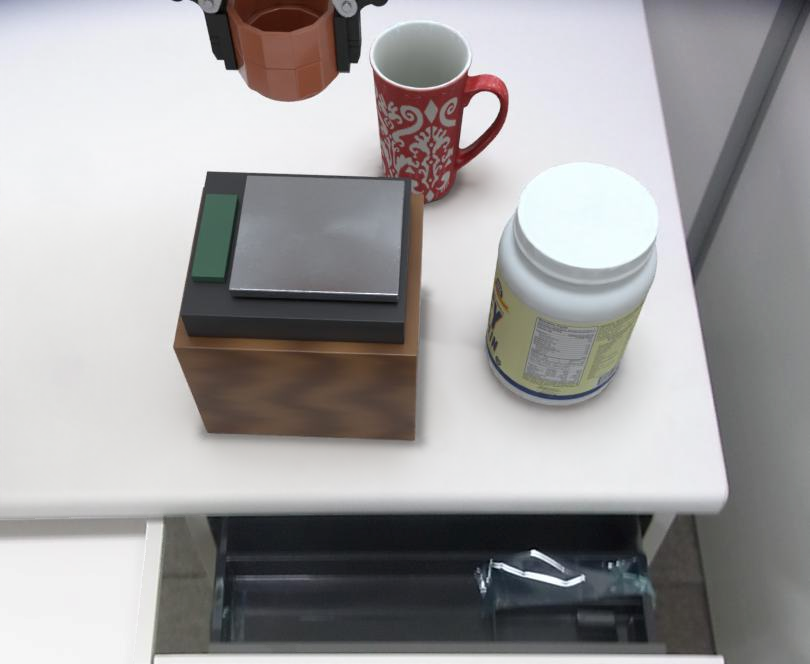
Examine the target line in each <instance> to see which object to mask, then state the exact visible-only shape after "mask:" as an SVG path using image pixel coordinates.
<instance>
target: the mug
mask: <svg viewBox="0 0 810 664" xmlns="http://www.w3.org/2000/svg"><path fill="white" fill-rule="evenodd" d="M368 53H369V55H368V58H369V64H370V66H371V69H372V75H373V86H374V95H375V97H374V98H375V106H376V114H377V115H376V116H377V124H378V136H379V146H380V154H381V167H382V175H383V176H382V177H399V178H411V179H412V187H411V194H424V203H428V202H429V203H430V202H433V201H437V200H439V199H441V198H443V197H444V196H446V195H447V194H448V193H449V192H450V191H451V190H452V188H453V186H454V184H455V182H456V176H457V172H458V171H459V170H460V169H462V168H463V167H464V166H466V165H468V164H469V163H470V162H471V161H472V160H474V159H475V158H476V157H477V156H479V155H480V154H481V153H482V152H484V151H485V149H486V148H487V147H489V145H490V144H491V143H492V142H493V141H494V140H495V139H496V138H497V136H498V135H499V133H500V132H501V130H502V129H503V127H504V125H505V122H506V120H507V117H508V112H509V106H510V105H509V103H510V102H509V101H510V100H509V99H510V95H509V90H508V88H507V85H506V83H505V82H504V81H503V80H502V79H501V78H500V77H498V76H497V75H493V74H489V73H482V74H477V75H472V76H471V75H469V70H470V68H471V66H472V62H473V50H472V46H471V44H470V42H469V41H468V39H467V37H466V36H464V35H463V33H462V32H460V31H459V30H458V29H456V28H455V27H453V26H451V25H449V24H446V23H443V22H439V21H435V20H428V19H414V20H407V21H402V22H399V23H395V24H393V25H391V26H389V27H387V28H386V29H384V30H383V31H382V32H380V33H379V34H378V35H377V36H376V37H375V38H374V40H373V42H372V43H371V45H370V48H369V52H368ZM483 92H484V93H485V92H487V93H491V94H493V95H495V96H496V98H497V99H498V101H499V110H498V113H497V115H496V117H495V119H494V120H493V122H492V123H491V125H490V126H489V127H488V128H487V129H486V130H485V131H484V132H483V133H482V134H481V135H480V136H479V137H478V138H477V139H476V140H474V141H473V142H472V143H470V144H469V145H468V146H466V147H464V148H461V147H460V141H461V133H462V125H463V117H464V109H465V108H467V107H468V106H469V105H470V102H471V101H472V99H473V97H475V96H476V95H478V94H479V93H483Z"/></svg>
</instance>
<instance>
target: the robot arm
mask: <svg viewBox="0 0 810 664" xmlns="http://www.w3.org/2000/svg"><path fill="white" fill-rule="evenodd" d="M171 1H173V2H175V3H179V2H180V3H181V2H183V0H171ZM189 1H191V2H192V3H195V4H197V5H198V7H200V9H201V10H202V12H203V15H204V20H205V25H206V29H207V30H206V31H207V34H208V39H209V43H210V48H211V53H212V54H213V56H214V57H215V59H216V61H223V64H224V68H225V70H226V71H238V67H237V61H236V56H235V51H234V46H233V41H232V36H231V31H230V25H229V20H228V15H227V10H226V7H227V2H228V0H189ZM331 1H332V3H333V4H334V6H335V13H334V25H335V39H336V52H337V65H338V73H339V74H350V73H351V66H352V64H353V65H354V64H357V65H358V63H359V61H360V59H361V53H362V42H363V39H362V37H363V36H362V17H361V15H362V13H361V11H362V9H363V8H365V7H367V6H373V7H377V8H379V7H383V6H385V5H386V4H388V2H389V0H331Z"/></svg>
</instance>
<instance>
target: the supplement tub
mask: <svg viewBox="0 0 810 664" xmlns="http://www.w3.org/2000/svg"><path fill="white" fill-rule="evenodd" d="M659 228H660V213H659V208H658V206H657V203H656V201H655V199H654V197H653V195H652V194H651V193H650V192H649V190H648V189H647V188H646V186H644V185H643V184H642V183H641V182H640V181H639V180H637V179H636V178H635V177H633V176H632V175H630V174H628V173H626V172H624V171H622V170H620V169H618V168H616V167H613V166H609V165H607V164H602V163H597V162H586V161H576V162H567V163H563V164H559V165H556V166H552V167H550V168H548V169H546V170H544V171H542V172H540V173H538V174H536V175H535V176H534V177H533V178H532V179H530V181H529V182H528V183H527V184H526V186H525V187H524V189H523V190H522V192H521V194H520V197H519V199H518V204H517V206H516V208H515V211H514V212H513V214H512V215H511V216H510V217H509V219H508V221H507V222H506V224H505V226H504V228H503V230H502V233H501V236H500V238H499V242H498V247H497V258H496V264H495V271H494V277H493V283H492V292H491V299H490V304H489V305H490V306H489V312H488V318H487V319H488V320H487V327H486V332H485V340H484V341H485V342H484V343H485V352H486V356H487V361H488V363H489V366H490V368H491V370H492V371H493V373H494V375H495V377H496V378H497V379H498V381H499V382H500V383H501V384H502V385H503V386H504V387H505V388H506V389H507V390H509V391H511V392H512V393H514V394H515V395H516V396H519V397H520V398H523V399H525V400H527V401H530V402H532V403H537V404H541V405H547V406H568V405H575V404H578V403H582V402H585V401H587V400H590V399H591V398H594V397H595V396H597V395H598V394H600V393H601V392H602V391H603V390H604V389H605V388H606V387H607V386H608V385H609V384H610V382H611V381H612V380H613V379H614V377H615V376H616V374H617V372H618V371H619V368H620V366H621V363H622V359H623V357H624V354H625V353H626V350H627V347H628V345H629V341H630V339H631V337H632V334H633V332H634V329H635V327H636V324H637V322H638V319H639V317H640V314H641V312H642V309H643V307H644V304H645V302H646V299H647V297H648V294H649V293H650V290H651V288H652V286H653V283H654V282H655V281H654V280H655V278H656V274H657V273H656V272H657V268H658V249H657V238H658V237H657V236H658V233H659Z"/></svg>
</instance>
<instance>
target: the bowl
mask: <svg viewBox="0 0 810 664" xmlns="http://www.w3.org/2000/svg"><path fill="white" fill-rule="evenodd" d="M226 10H227V15H228V20H229V25H230V31H231V36H232V41H233V46H234V51H235V56H236V61H237V67H238V70H237V72H238V73H239V75H240V77H241V78H242V80H243V82H245V84H246V86H247V87H248V89H250V90H252V91H254V92H256V93H257V94H259V95H260V96H263V97H264V98H267V99H269V100H273V101H276V102H284V103H293V102H301V101H306V100H309V99H311V98H314V97H316V96H317V95H319V94H321V93H322V92H323V91H325V90H326V89H327V88H328V87H329V85H330V84H332V83H333V82H334V81H335V79H337V78H338V76H339V75H340V73H338V65H337V52H336V39H335V25H334V13H335V6H334V4H333V3H332V1H331V0H228V2H227V7H226Z"/></svg>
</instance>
